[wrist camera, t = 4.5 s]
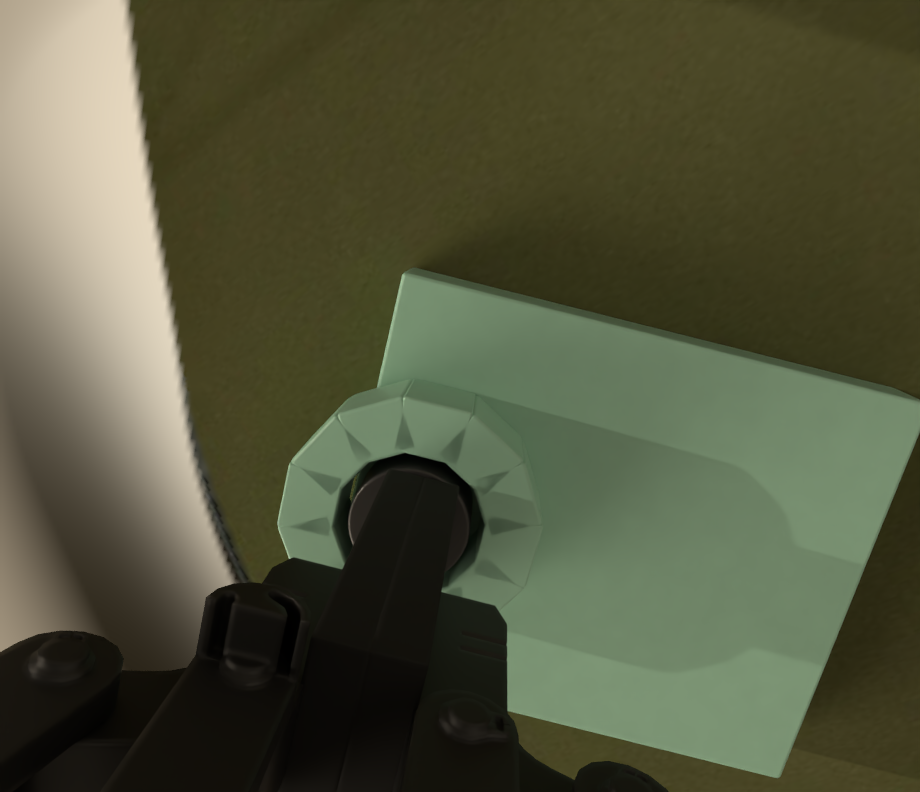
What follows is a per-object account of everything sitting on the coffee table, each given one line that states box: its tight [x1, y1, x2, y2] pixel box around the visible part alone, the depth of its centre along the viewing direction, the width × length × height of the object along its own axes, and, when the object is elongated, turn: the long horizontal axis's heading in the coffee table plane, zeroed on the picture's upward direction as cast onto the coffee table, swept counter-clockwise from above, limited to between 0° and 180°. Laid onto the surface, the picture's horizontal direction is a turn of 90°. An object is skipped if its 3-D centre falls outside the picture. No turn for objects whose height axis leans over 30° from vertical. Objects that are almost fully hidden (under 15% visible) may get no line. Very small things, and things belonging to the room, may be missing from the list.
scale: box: [277, 268, 920, 778], centre depth 18 cm, size 13×10×4 cm
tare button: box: [348, 453, 473, 572], centre depth 17 cm, size 3×3×2 cm
